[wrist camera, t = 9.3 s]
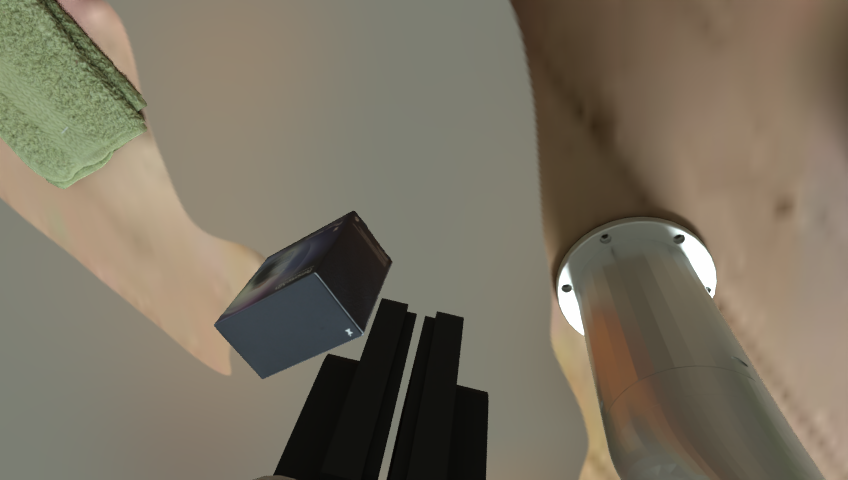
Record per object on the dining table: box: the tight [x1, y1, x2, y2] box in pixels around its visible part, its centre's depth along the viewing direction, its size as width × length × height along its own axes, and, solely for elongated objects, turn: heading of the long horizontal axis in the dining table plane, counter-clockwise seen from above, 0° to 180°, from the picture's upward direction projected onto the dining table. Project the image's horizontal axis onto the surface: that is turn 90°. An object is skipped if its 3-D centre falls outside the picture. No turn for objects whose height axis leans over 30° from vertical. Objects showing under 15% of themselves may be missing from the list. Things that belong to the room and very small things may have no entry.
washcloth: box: [0, 0, 147, 189], centre depth 41 cm, size 13×18×3 cm
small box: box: [214, 211, 392, 379], centre depth 43 cm, size 11×6×10 cm, turn 123°
